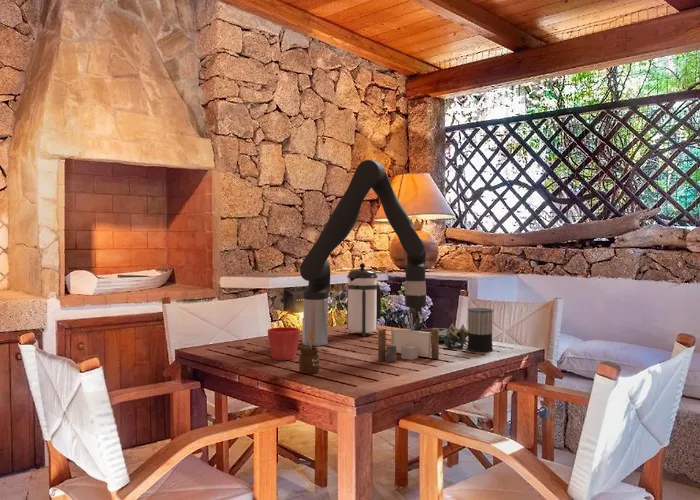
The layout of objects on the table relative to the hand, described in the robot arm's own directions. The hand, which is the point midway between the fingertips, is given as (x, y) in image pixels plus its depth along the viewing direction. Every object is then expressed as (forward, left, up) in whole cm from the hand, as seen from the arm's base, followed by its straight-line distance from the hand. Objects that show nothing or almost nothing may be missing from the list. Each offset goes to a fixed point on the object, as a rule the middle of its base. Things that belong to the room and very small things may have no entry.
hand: (415, 341), depth 217 cm
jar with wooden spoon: (-43, -26, -4) cm, 50 cm away
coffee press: (-9, +43, -4) cm, 44 cm away
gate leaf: (-4, -7, -3) cm, 9 cm away
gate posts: (-7, -15, -3) cm, 17 cm away
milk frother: (+20, 0, -4) cm, 21 cm away
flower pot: (-48, -3, -4) cm, 48 cm away
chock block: (-6, -12, -3) cm, 14 cm away
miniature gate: (+15, +25, -4) cm, 29 cm away
